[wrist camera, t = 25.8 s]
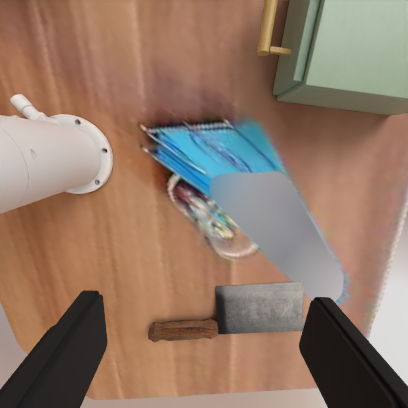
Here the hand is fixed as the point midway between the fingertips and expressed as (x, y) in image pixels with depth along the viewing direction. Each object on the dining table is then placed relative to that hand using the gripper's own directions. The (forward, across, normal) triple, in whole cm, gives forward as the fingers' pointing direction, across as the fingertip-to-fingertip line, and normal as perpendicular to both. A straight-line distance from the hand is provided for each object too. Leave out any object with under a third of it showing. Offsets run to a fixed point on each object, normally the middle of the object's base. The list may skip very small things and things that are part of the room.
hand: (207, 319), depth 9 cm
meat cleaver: (+28, -7, +27) cm, 39 cm away
